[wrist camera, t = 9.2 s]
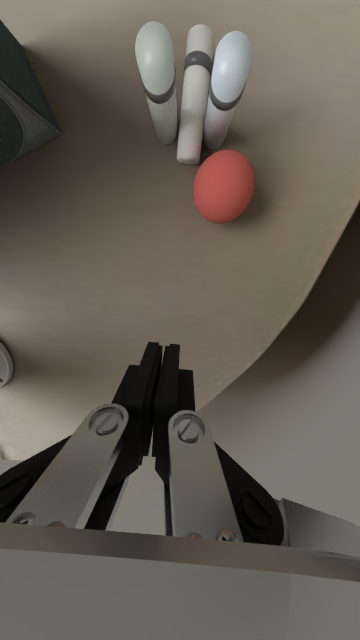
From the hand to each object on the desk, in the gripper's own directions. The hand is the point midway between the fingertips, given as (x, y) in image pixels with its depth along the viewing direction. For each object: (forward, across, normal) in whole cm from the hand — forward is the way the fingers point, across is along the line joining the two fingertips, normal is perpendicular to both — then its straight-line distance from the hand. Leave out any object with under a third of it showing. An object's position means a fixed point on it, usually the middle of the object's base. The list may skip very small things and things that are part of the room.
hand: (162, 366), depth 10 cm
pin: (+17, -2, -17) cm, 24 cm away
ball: (+14, -4, -12) cm, 19 cm away
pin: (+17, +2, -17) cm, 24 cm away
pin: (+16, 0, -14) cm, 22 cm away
